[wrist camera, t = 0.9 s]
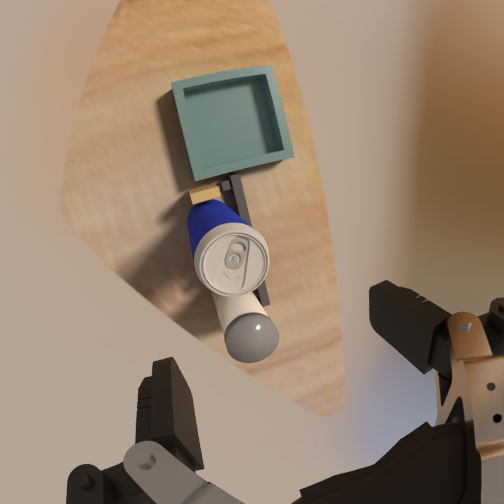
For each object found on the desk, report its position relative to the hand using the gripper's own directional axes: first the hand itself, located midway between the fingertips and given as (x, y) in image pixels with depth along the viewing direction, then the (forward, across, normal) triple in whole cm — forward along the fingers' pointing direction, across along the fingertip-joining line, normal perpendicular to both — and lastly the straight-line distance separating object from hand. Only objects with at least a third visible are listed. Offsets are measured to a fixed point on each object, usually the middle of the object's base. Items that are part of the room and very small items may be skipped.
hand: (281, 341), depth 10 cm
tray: (+24, -5, -10) cm, 26 cm away
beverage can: (+24, 0, 0) cm, 24 cm away
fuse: (+24, 0, +8) cm, 25 cm away
